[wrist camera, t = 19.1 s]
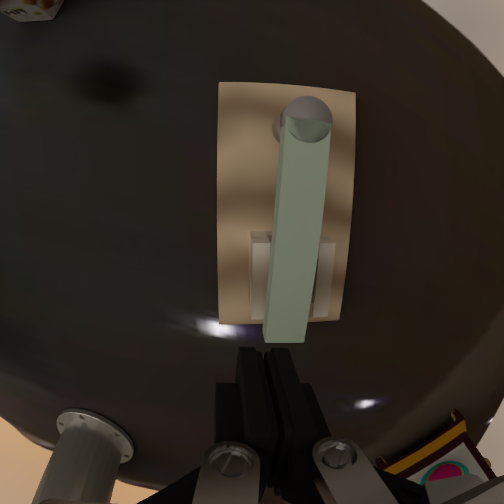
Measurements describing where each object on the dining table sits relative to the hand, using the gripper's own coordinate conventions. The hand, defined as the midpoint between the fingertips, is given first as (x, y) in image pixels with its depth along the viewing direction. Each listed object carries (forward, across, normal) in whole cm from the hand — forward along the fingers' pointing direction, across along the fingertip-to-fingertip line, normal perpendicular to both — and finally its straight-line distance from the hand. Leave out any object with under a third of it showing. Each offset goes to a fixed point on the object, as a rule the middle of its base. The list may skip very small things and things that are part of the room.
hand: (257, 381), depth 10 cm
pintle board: (+19, -4, -4) cm, 20 cm away
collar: (+18, -4, +1) cm, 18 cm away
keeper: (+13, -4, -4) cm, 14 cm away
